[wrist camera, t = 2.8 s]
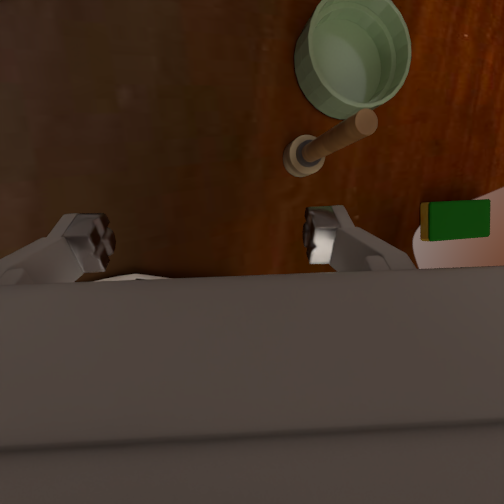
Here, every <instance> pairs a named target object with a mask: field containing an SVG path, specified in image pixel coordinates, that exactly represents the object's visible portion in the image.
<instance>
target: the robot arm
mask: <svg viewBox="0 0 504 504" xmlns="http://www.w3.org/2000/svg"><path fill="white" fill-rule="evenodd" d="M305 219H306V222H305V224H304V225H303V243H304V246H305V247H306V248H307V252H306V254H307V257H308V260H309V264H330V265H331V266H332V267H333V268H334V269H335V270H336V271H337V272H329V273H303V274H277V275H252V276H226V277H200V278H174V279H148V280H122V281H96V282H74V281H76V280H77V279H78V278H79V277H80V276H81V275H83V273H90V272H105V270H106V268H107V266H108V263H109V261H110V259H109V257H108V256H110V255H111V254H113V252H114V250H115V246H116V239H115V235H114V232H113V231H112V230H111V229H110V228H109V227H108V225H109V223H110V221H109V219H108V217H107V215H106V214H104V213H80V214H78V213H75V214H65V215H63V216H62V218H61V219H60V220H59V222H58V223H57V224H56V226H55V227H54V228H53V230H52V231H51V232H50V233H49V235H48V236H47V237H45V238H41V239H39V240H37V241H35V242H33V243H31V244H29V245H27V246H25V247H23V248H21V249H19V250H17V251H15V252H14V253H12V254H10V255H8V256H6V257H4V258H2V259H0V504H504V266H485V267H460V268H437V269H436V268H435V269H416V267H415V266H414V264H413V263H412V261H411V260H410V258H409V257H408V255H407V254H406V253H404V252H403V251H401V250H399V249H397V248H395V247H393V246H392V245H390V244H388V243H386V242H384V241H383V240H381V239H379V238H377V237H375V236H374V235H372V234H370V233H368V232H366V231H365V230H363V229H361V228H359V227H355V226H354V224H353V223H352V221H351V219H350V217H349V215H348V213H347V211H346V209H345V208H344V206H343V205H337V206H322V207H306V210H305Z"/></svg>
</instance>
